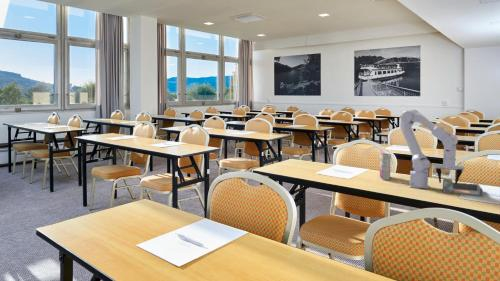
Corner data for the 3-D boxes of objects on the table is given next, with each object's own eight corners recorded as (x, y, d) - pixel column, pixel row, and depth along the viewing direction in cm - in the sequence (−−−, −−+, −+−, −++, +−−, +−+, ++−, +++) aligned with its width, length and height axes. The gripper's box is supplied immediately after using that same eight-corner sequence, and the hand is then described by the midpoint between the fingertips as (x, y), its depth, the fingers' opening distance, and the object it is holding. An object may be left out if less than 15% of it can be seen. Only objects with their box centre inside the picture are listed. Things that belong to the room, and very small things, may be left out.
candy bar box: (379, 175, 239) (379, 150, 237) (387, 176, 238) (388, 150, 236) (381, 180, 229) (382, 153, 226) (390, 180, 228) (391, 153, 225)
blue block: (443, 192, 199) (444, 181, 198) (442, 189, 206) (443, 178, 205) (452, 193, 198) (452, 182, 197) (450, 190, 204) (451, 179, 203)
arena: (453, 194, 197) (453, 187, 196) (451, 188, 208) (451, 182, 207) (482, 196, 192) (482, 189, 191) (478, 190, 203) (478, 184, 202)
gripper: (434, 158, 198) (433, 183, 200) (465, 160, 193) (464, 185, 195) (433, 156, 205) (432, 180, 207) (464, 157, 199) (462, 182, 201)
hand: (448, 182), depth 201 cm, fingers open, 7 cm apart
